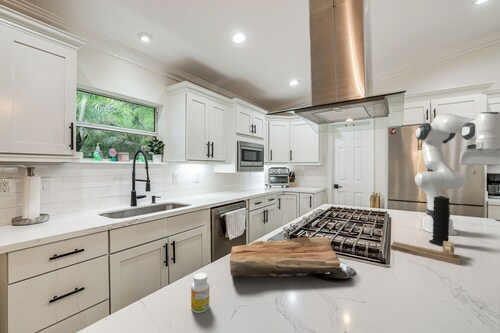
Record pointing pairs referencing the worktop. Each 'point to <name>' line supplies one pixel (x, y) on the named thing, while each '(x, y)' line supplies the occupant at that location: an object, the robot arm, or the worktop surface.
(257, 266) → the log
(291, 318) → the worktop surface
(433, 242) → the handle grip
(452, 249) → the beige mallet
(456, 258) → the board
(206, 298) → the supplement bottle
